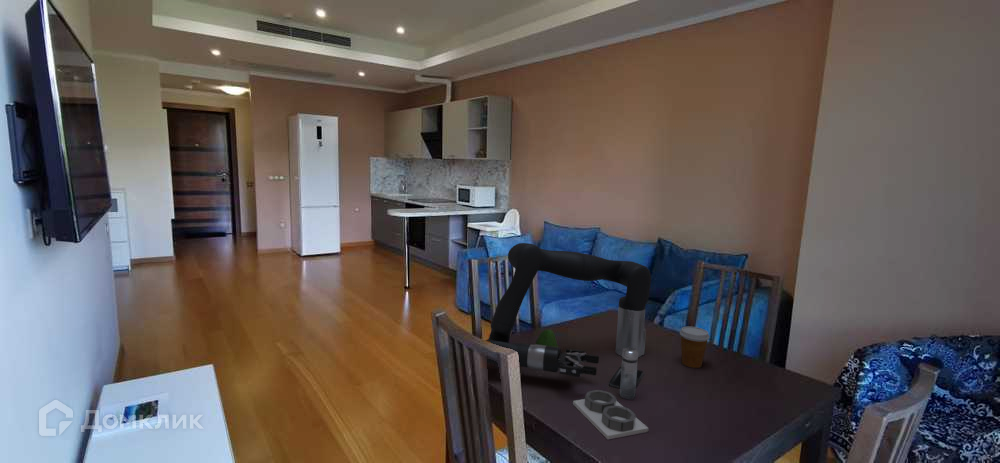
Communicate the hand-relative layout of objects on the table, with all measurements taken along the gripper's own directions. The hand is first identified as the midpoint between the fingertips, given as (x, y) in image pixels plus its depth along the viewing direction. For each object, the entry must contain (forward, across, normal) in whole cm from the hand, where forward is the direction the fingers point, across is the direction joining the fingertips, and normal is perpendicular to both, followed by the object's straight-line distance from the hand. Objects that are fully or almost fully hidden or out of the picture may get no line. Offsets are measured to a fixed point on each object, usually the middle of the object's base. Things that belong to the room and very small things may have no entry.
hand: (597, 365), depth 141 cm
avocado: (-18, +14, +8) cm, 24 cm away
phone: (+9, +11, +9) cm, 16 cm away
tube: (+9, 0, +8) cm, 12 cm away
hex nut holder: (+4, -14, +8) cm, 17 cm away
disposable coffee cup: (+30, +31, +8) cm, 44 cm away
